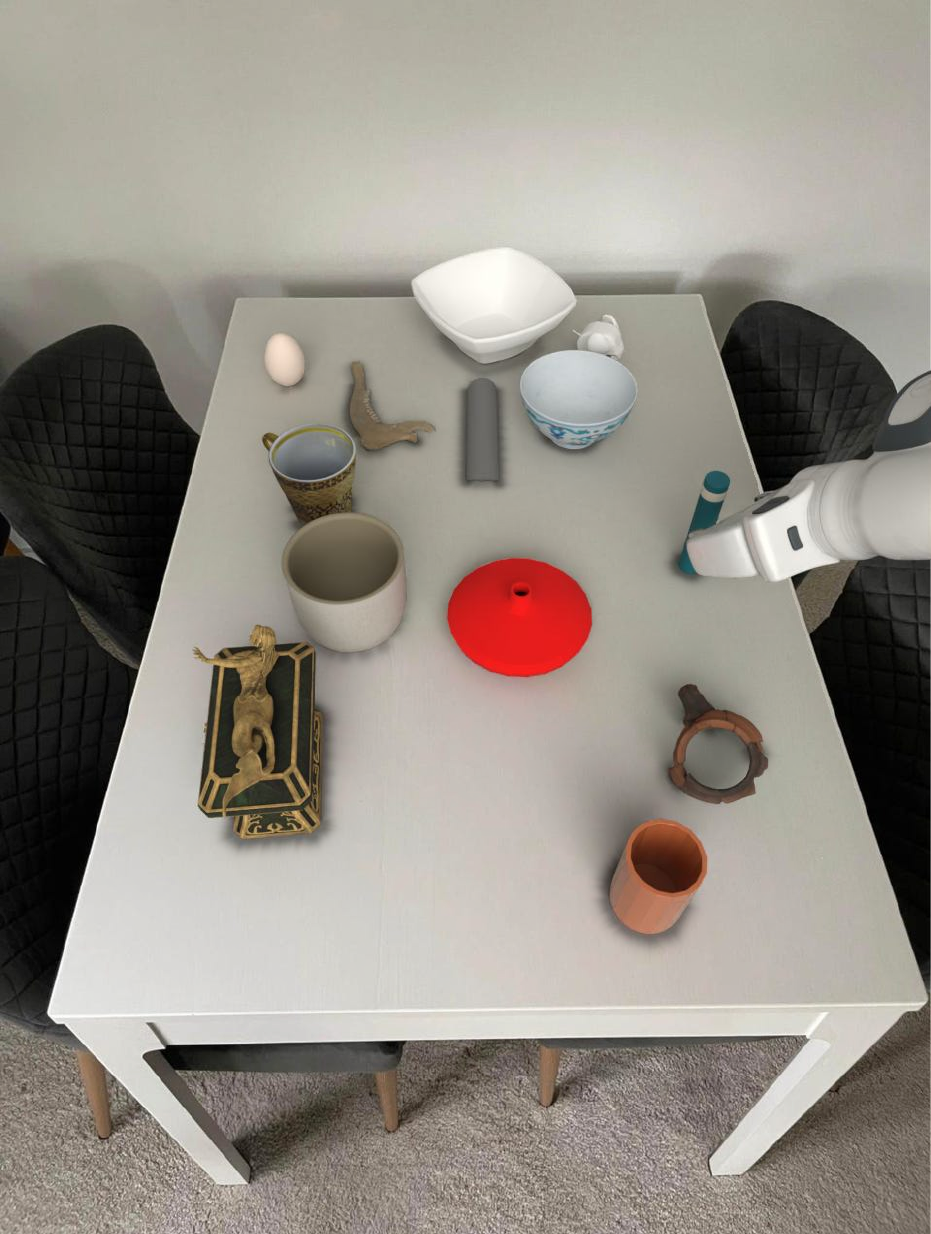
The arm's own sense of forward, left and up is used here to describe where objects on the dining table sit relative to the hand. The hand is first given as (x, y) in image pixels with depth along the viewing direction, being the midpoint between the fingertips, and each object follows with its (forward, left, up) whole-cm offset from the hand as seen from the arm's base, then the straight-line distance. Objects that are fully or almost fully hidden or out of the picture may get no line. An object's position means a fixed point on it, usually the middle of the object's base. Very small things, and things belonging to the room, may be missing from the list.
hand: (728, 520), depth 88 cm
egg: (+65, -1, -10) cm, 65 cm away
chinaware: (+26, -14, -10) cm, 31 cm away
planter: (+31, +27, -10) cm, 42 cm away
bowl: (+46, -25, -10) cm, 53 cm away
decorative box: (+24, +47, -10) cm, 54 cm away
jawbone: (+50, -5, -10) cm, 51 cm away
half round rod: (+36, -7, -10) cm, 37 cm away
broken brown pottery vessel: (-9, +21, -10) cm, 25 cm away
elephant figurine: (+31, -30, -10) cm, 44 cm away
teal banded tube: (+3, -1, -10) cm, 10 cm away
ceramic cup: (+46, +16, -10) cm, 49 cm away
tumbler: (-10, +37, -10) cm, 40 cm away
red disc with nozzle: (+15, +18, -10) cm, 26 cm away
